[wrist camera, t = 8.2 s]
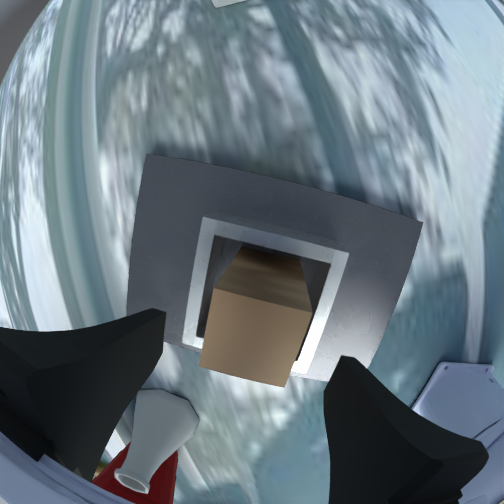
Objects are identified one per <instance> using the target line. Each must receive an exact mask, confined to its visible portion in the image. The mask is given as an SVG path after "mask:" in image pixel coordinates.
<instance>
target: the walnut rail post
mask: <svg viewBox="0 0 504 504" xmlns="http://www.w3.org/2000/svg"><path fill="white" fill-rule="evenodd" d="M312 313H313V312H312V308H311V303H310V299H309V295H308V291H307V286H306V282H305V278H304V274H303V270H302V266H301V262H300V261H298V260H294V259H290V258H286V257H282V256H278V255H274V254H270V253H266V252H262V251H258V250H254V249H250V248H246V247H242V246H241V248H240V249H239V251H238V252H237V254H236V255H235V257H234V258H233V260H232V261H231V263H230V264H229V266H228V267H227V269H226V270H225V272H224V273H223V275H222V276H221V278H220V279H219V281H218V282H217V284H216V285H215V287H214V289H213V294H212V299H211V304H210V309H209V314H208V319H207V325H206V330H205V335H204V341H203V346H202V352H201V357H200V363H199V366H200V367H203V368H206V369H210V370H213V371H217V372H220V373H224V374H228V375H232V376H236V377H240V378H244V379H248V380H252V381H256V382H261V383H265V384H270V385H274V386H279V387H285V384H286V382H287V380H288V377H289V375H290V372H291V370H292V367H293V365H294V362H295V359H296V357H297V354H298V352H299V349H300V346H301V344H302V341H303V338H304V336H305V333H306V330H307V328H308V325H309V322H310V319H311V316H312Z"/></svg>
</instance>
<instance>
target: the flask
mask: <svg viewBox="0 0 504 504" xmlns="http://www.w3.org/2000/svg"><path fill="white" fill-rule="evenodd" d="M199 421H200V420H199V418H198V417H197V415H196V413H195V412H194V410H193V408H192V406H191V405H190V403H189V401H187V400H185V399H182V398H180V397H178V396H175V395H173V394H171V393H168V392H166V391H164V390H162V389H153V390H139V391H138V392H137V398H136V405H135V412H134V422H133V430H132V437H131V444H130V447H129V450H128V454H127V457H126V460H125V461H124V463H123V465H122V467H121V468H120V469H116V470H115V472H114V474H115V478H116V479H117V480H118V481H119V482H120V483H121V484H122V485H124V486H126V487H128V488H130V489H132V490H134V491H137V492H141V493H146V494H148V492H149V488H150V484H149V481H150V479H151V477H152V475H153V474H154V473H155V471H156V470H157V469H158V467H159V466H160V465H161V464H162V463H163V462H164V461H165V460H166V459H167V458H168V457H169V456H170V455H172V454H173V453H174V452H175V451H176V450H177V449H178V448H179V447H181V446H182V445H183V444H184V443H185V442H186V441H188V440H189V439H190V438H191V437H192V436H193V435H194V433H195V431H196V428H197V426H198V424H199Z"/></svg>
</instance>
